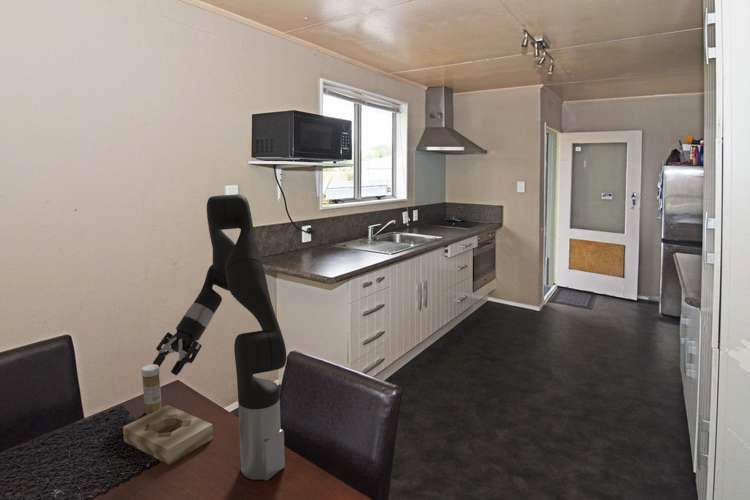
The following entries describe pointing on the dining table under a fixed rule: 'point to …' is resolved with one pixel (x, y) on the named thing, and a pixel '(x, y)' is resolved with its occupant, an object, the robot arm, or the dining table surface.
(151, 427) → the spice caddy
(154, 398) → the sprinkles bottle
